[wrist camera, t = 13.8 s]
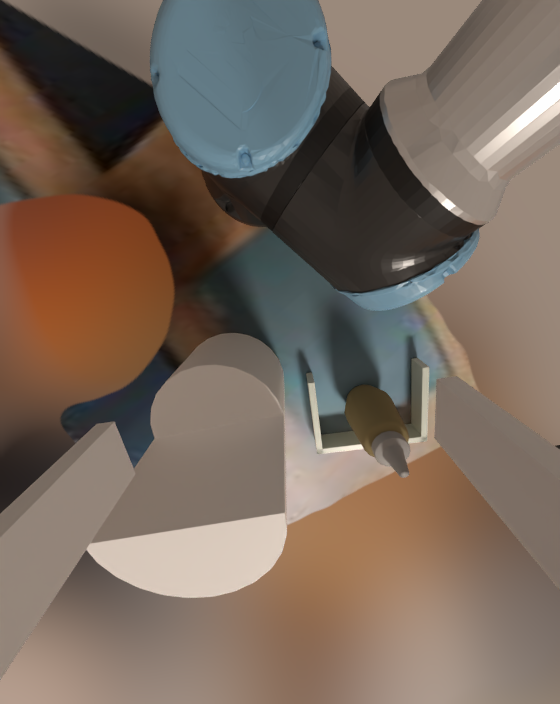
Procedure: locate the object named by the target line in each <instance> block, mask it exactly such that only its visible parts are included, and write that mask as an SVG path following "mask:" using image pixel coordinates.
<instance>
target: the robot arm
mask: <svg viewBox="0 0 560 704" xmlns="http://www.w3.org/2000/svg"><path fill="white" fill-rule="evenodd" d="M150 72H151V80H152V84H153V89H154V97H155V100H156V104H157V106H158V109H159V112H160V114H161V117H162V119H163V121H164V123H165V125H166V127H167V128H168V130H169V132H170V133H171V135H172V136H173V139H174V142H175V143H176V145H177V146H178V147H179V148H180V150H181V152H182V153H183V154H184V155H185V156H186V158H187V159H188V160H189V161H190V162H191V163H193V164H195V165H196V166H197V167H198V168H200V169H201V170H202V173H203V177H204V180H205V183H206V186H207V188H208V190H209V192H210V194H211V196H212V197H213V199H214V200H215V202H216V203H217V204H218V205H219V207H220V208H221V209H222V210H223V211H225V212H226V213H227V214H228V215H229V216H231V217H232V218H234V219H235V220H237V221H239V222H241V223H244V224H246V225H250V226H256V227H266V226H267V227H268V228H269V229H270V230H271V231H272V232H273V233H274V234H275V235H276V236H277V237H279V238H280V239H281V240H282V241H283V242H284V243H285V244H286V245H288V246H289V247H290V248H291V249H292V250H293V251H294V252H295V253H297V254H298V255H299V256H300V257H301V258H302V259H303V260H305V261H306V262H307V263H308V264H309V265H310V266H311V267H312V268H314V269H315V270H316V271H317V272H318V273H319V274H320V275H321V276H323V277H324V278H325V279H326V280H327V281H328V282H329V283H330V284H331V285H332V287H333V288H334V289H335V290H336V291H338V292H339V293H341V294H343V295H346V296H347V297H348V298H350V299H351V300H352V301H353V302H355V303H356V304H357V305H359V306H360V307H362V308H365V309H368V310H373V311H384V310H390V309H394V308H398V307H401V306H404V305H406V304H409V303H411V302H413V301H416V300H417V299H419V298H421V297H423V296H425V295H427V294H428V293H430V292H432V291H433V290H435V289H436V288H437V287H439V286H440V285H442V284H443V283H444V278H445V277H446V276H448V275H450V274H454V273H456V272H457V271H458V270H459V269H460V268H461V267H462V266H463V265H464V264H465V263H466V262H467V261H468V259H469V258H470V257H471V255H472V254H473V252H474V250H475V249H476V247H477V244H478V241H479V228H480V227H482V226H483V225H485V224H486V223H488V222H489V221H491V220H492V219H493V218H494V217H495V216H496V213H497V211H498V208H499V205H500V202H501V199H502V196H503V194H504V191H505V188H506V186H507V185H508V183H509V182H510V180H511V179H512V178H514V177H515V176H516V175H518V174H519V173H520V172H522V171H523V170H525V169H526V168H527V167H529V166H530V165H532V164H533V163H534V162H536V161H537V160H539V159H540V158H541V157H543V156H544V155H545V154H547V153H548V152H550V151H551V150H552V149H554V148H555V147H557V146H558V145H560V0H482V1H481V3H480V4H479V5H478V6H477V8H476V9H475V10H474V12H473V13H472V14H471V15H470V17H469V18H468V19H467V21H466V22H465V23H464V24H463V26H462V27H461V28H460V29H459V31H458V32H457V33H456V35H455V36H454V37H453V38H452V40H451V41H450V42H449V44H448V45H447V46H446V48H445V49H444V50H443V51H442V52H441V54H440V55H439V56H438V57H437V59H436V60H435V61H434V63H433V64H432V65H431V66H430V67H429V68H428V69H427V70H426V71H424V72H423V73H422V74H418V75H413V76H408V77H404V78H399V79H394V80H391V81H390V82H388V83H387V84H386V85H385V86H384V88H383V89H382V91H381V92H380V94H379V95H378V96H377V98H376V99H375V101H374V102H373V104H372V105H371V106H370V107H369V106H367V105H366V104H365V102H364V101H363V100H362V99H361V98H360V97H359V96H358V95H357V93H356V92H355V91H354V90H353V89H352V88H351V87H350V86H349V85H348V83H347V82H346V81H345V80H344V79H343V78H342V77H341V76H340V75H339V74H338V73H337V71H336V70H335V69H334V68H333V67H332V66H331V48H330V44H329V40H328V35H327V28H326V23H325V19H324V15H323V12H322V10H321V6H320V4H319V1H318V0H163V2H162V4H161V6H160V9H159V12H158V14H157V18H156V21H155V24H154V29H153V33H152V39H151V47H150ZM434 438H435V439H436V440H437V441H438V443H439V444H440V445H441V446H442V448H443V449H444V450H445V451H446V452H447V454H448V455H449V456H450V457H451V458H452V460H453V461H454V462H455V463H456V465H457V466H458V467H459V468H460V469H461V471H462V472H463V473H464V474H465V476H466V477H467V478H468V479H469V480H470V482H471V483H472V484H473V485H474V487H475V488H476V489H477V490H478V491H479V493H480V494H481V495H482V496H483V498H484V499H485V500H486V501H487V502H488V503H489V505H490V506H491V507H492V508H493V510H494V511H495V512H496V513H497V514H498V516H499V517H500V518H501V519H502V520H503V522H504V523H505V524H506V526H507V527H508V528H509V529H510V530H511V532H512V533H513V534H514V535H515V536H516V538H517V539H518V540H519V541H520V543H521V544H522V545H523V546H524V547H525V549H526V550H527V551H528V552H529V554H530V555H531V556H532V557H533V558H534V560H535V561H536V562H537V563H538V565H539V566H540V567H541V568H542V569H543V570H544V572H545V573H546V574H547V575H548V577H549V578H550V579H551V580H552V582H553V583H554V584H555V585H556V586H557V587H558V589H559V590H560V445H557V446H554V445H552V444H551V443H550V442H548V441H547V440H546V439H544V438H543V437H541V436H540V435H539V434H537V433H536V432H534V431H533V430H532V429H530V428H529V427H527V426H526V425H524V424H523V423H522V422H520V421H519V420H518V419H516V418H515V417H513V416H512V415H511V414H509V413H508V412H506V411H505V410H503V409H502V408H500V407H499V406H498V405H496V404H495V403H494V402H492V401H491V400H489V399H488V398H487V397H485V396H484V395H482V394H481V393H480V392H478V391H477V390H475V389H474V388H473V387H471V386H470V385H468V384H467V383H466V382H464V381H463V380H461V379H460V378H459V377H457V376H456V377H448V378H441V379H437V386H436V411H435V437H434ZM135 474H136V473H135V471H134V469H133V466H132V464H131V461H130V459H129V456H128V454H127V452H126V449H125V447H124V444H123V442H122V439H121V437H120V434H119V432H118V430H117V427H116V425H115V422H109V423H101V424H96V425H95V426H94V427H93V428H92V429H91V430H90V431H89V432H88V433H87V434H86V435H84V436H83V437H82V438H81V439H80V440H79V441H78V442H77V443H76V444H75V445H74V446H73V447H72V448H71V449H69V450H68V451H67V452H66V453H65V454H64V455H63V456H62V457H61V458H60V459H59V460H58V461H57V462H56V463H54V464H53V465H52V466H51V467H50V468H49V469H48V470H47V471H46V472H45V473H44V474H43V475H42V476H41V477H39V478H38V479H37V481H35V482H34V483H33V484H32V485H31V486H30V487H29V488H28V489H27V490H26V491H25V492H23V493H22V494H21V495H20V496H19V497H18V498H17V499H16V500H15V501H14V502H13V503H12V504H11V505H9V506H8V507H7V508H6V509H5V510H4V511H3V512H2V513H1V514H0V680H1V678H2V677H3V675H4V674H5V672H6V671H7V669H8V668H9V666H10V665H11V663H12V662H13V660H14V659H15V657H16V655H17V654H18V653H19V651H20V649H21V648H22V646H23V645H24V643H25V642H26V640H27V639H28V637H29V636H30V634H31V633H32V631H33V630H34V628H35V627H36V625H37V624H38V622H39V620H40V619H41V618H42V616H43V614H44V613H45V611H46V610H47V608H48V607H49V605H50V604H51V602H52V601H53V599H54V597H55V596H56V595H57V593H58V592H59V590H60V589H61V587H62V585H63V584H64V582H65V581H66V579H67V578H68V576H69V575H70V573H71V572H72V570H73V569H74V567H75V566H76V564H77V562H78V561H79V560H80V558H81V556H82V555H83V554H84V552H85V550H86V549H87V547H88V546H89V544H90V543H91V541H92V540H93V538H94V537H95V535H96V534H97V532H98V531H99V529H100V528H101V526H102V525H103V523H104V522H105V520H106V518H107V517H108V515H109V514H110V512H111V511H112V509H113V508H114V506H115V505H116V503H117V502H118V500H119V499H120V497H121V496H122V494H123V493H124V491H125V490H126V488H127V486H128V485H129V483H130V482H131V480H132V479H133V477H134V476H135Z"/></svg>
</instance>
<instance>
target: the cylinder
mask: <svg viewBox="0 0 560 704" xmlns="http://www.w3.org/2000/svg"><path fill="white" fill-rule="evenodd" d="M151 427H152V430H153V434H154V438H155V439H154V440H153V442H152V443H151V445H150V446H149V448H148V449H147V451H146V452H145V454H144V455H143V457H142V458H141V459H140V461H139V462H138V464H137V465H136V467H135V468H134V471H135V473H136V474H135V476H134V477H133V479H132V480H131V482H130V483H129V485H128V486H127V488H126V490H125V491H124V493H123V494H122V496H121V497H120V499H119V500H118V502H117V503H116V505H115V506H114V508H113V509H112V511H111V512H110V514H109V515H108V517H107V518H106V520H105V522H104V523H103V525H102V526H101V528H100V529H99V531H98V532H97V534H96V535H95V537H94V538H93V540H92V541H91V543H90V544H89V546H88V547H87V549H86V550H87V551H88V552H89V553H90V554H91V555H92V557H93V558H94V559H95V560H96V561H97V563H99V564H100V565H101V566H103V567H104V568H105V569H107V570H108V571H109V572H111V573H112V574H113V575H115V576H116V577H118V578H120V579H122V580H124V581H126V582H128V583H130V584H132V585H134V586H136V587H138V588H141V589H144V590H148V591H151V592H154V593H158V594H161V595H168V596H176V597H184V598H195V597H213V596H217V595H221V594H226V593H230V592H234V591H236V590H239V589H241V588H243V587H245V586H247V585H249V584H252V583H254V582H255V581H256V580H258V579H259V578H260V577H262V576H263V575H264V574H265V573H266V572H268V571H269V570H270V569H271V568H272V566H273V565H274V564H275V562H276V561H277V559H278V558H279V556H280V554H281V553H282V551H283V547H284V543H285V539H286V535H287V508H286V455H285V402H284V375H283V369H282V367H281V364H280V361H279V359H278V358H277V356H276V355H275V354H274V352H273V351H272V350H271V349H270V348H269V347H268V346H267V345H265V344H264V343H263V342H262V341H260V340H258V339H256V338H253V337H251V336H249V335H245V334H239V333H225V334H219V335H216V336H213V337H211V338H208V339H207V340H205V341H204V342H202V343H201V344H200V345H198V346H197V347H196V349H195V350H194V351H193V352H192V353H191V354H190V355H189V356H188V358H187V359H186V360H185V361H184V362H183V363H182V364H181V365H180V367H179V368H178V369H177V370H176V371H175V372H174V373H173V374H172V376H171V377H170V378H169V379H168V380H167V381H166V382H165V384H164V385H163V386H162V388H161V389H160V390H159V391H158V393H157V394H156V396H155V399H154V402H153V405H152V407H151Z"/></svg>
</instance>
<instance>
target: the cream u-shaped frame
mask: <svg viewBox="0 0 560 704" xmlns="http://www.w3.org/2000/svg"><path fill="white" fill-rule="evenodd" d="M306 376H307V384H308V391H309V399H310V406H311V414H312V422H313V429H314V437H315V443H316V449H317V454H324V453H332V452H341V451H349V450H357V449H364V448H363V446H362V445H361V443H360V441H359V440H358V438H357V436H356V435H355V433H354V431H347V432H339V433H331V434H323V435H321V432H320V424H319V416H318V408H317V400H316V392H315V384H314V379H313V375H312V372H311V373H306ZM428 392H429V367H428V366H427V365H426V364H425V363H423V362H422V361H421V360H420V359H418V358H413V359H412V360H411V424H405V426H406V428H407V430H408V434H409V440H408V443H415V442H424V441H427V427H428Z"/></svg>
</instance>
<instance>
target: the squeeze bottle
mask: <svg viewBox="0 0 560 704" xmlns="http://www.w3.org/2000/svg"><path fill="white" fill-rule="evenodd" d="M345 415H346V419H347V421H348V423H349V424H350V426H351V428H352V429H353V431H354V433H355V435H356V436H357V438H358V440H359V441H360V443H361V445H362V446H363V448H364V450H365V451H366V452H367V453H368V454H369V455H370V456H373V457H375V458H376V460H377V461H378V462H379V463H380V464H382V465H384V466H391V467H392V468H393V469H394V470H395V471H396V472H397V473H398V474H399V476H400V477H407V476H408V475H409V471H408V467H407V463H406V459H407V458H408V457H409V454H410V446H409V444H408V440H409V434H408V430H407V428H406V426H405V424H404V422H403V420H402V418H401V416H400V415H399V413H398V411H397V409H396V407H395V405H394V403H393V401H392V399H391V398H390V396H389V395H388V394H387V393H386V392H384V391H382V390H380V389H378V388H375V387H373V386H370V385H359V386H356V387H355V388H353V389H352V390H351V391H350V392H349V394H348V396H347V401H346V406H345Z"/></svg>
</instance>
